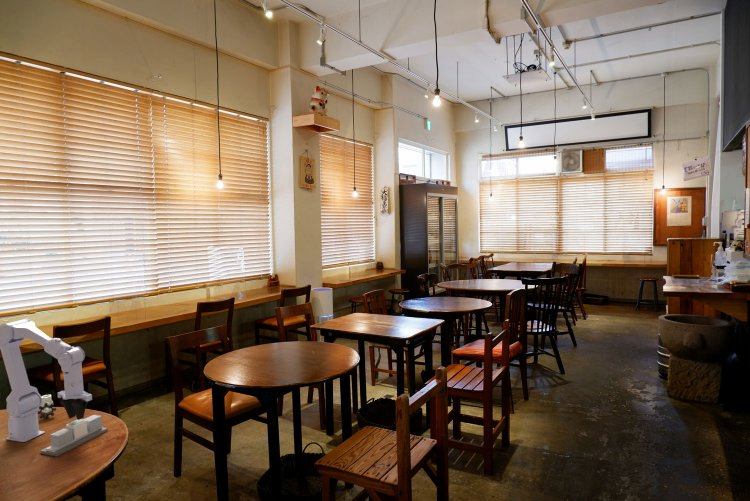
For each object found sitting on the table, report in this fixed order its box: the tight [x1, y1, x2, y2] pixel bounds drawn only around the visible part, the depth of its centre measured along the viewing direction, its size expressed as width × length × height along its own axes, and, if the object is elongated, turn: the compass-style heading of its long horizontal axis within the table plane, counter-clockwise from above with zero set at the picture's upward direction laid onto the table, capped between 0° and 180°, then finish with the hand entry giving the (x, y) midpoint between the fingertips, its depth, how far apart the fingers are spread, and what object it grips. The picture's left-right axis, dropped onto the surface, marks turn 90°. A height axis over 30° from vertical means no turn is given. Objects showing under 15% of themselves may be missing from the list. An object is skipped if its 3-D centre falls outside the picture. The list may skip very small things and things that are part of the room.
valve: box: [37, 394, 57, 420], centre depth 195 cm, size 7×7×12 cm
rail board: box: [39, 414, 108, 457], centre depth 169 cm, size 8×20×6 cm, turn 161°
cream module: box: [65, 418, 87, 439], centre depth 170 cm, size 4×5×5 cm
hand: (76, 418), depth 170 cm, fingers open, 3 cm apart
